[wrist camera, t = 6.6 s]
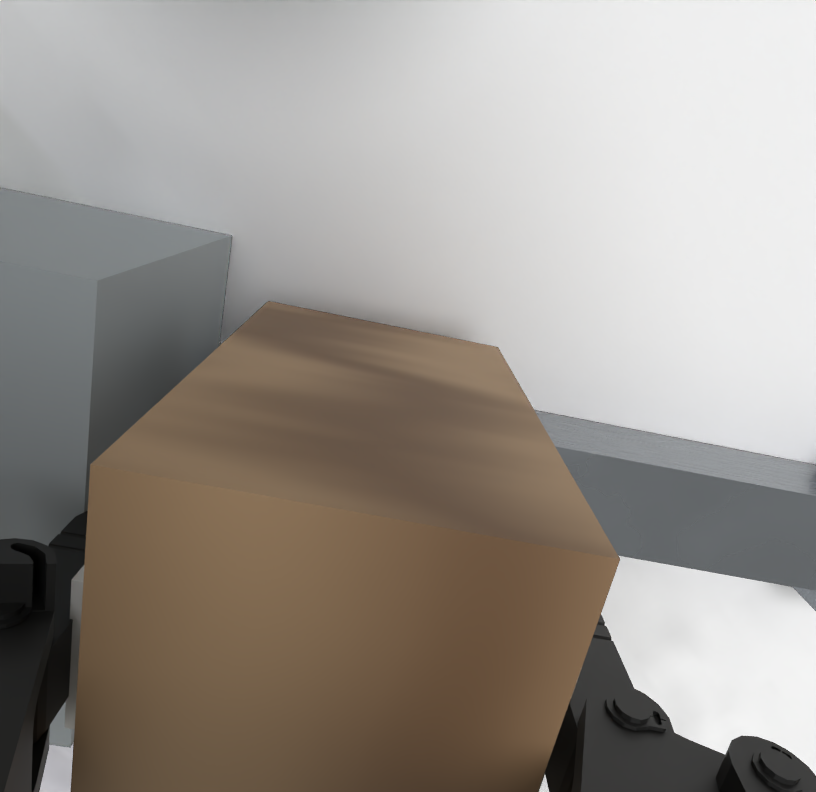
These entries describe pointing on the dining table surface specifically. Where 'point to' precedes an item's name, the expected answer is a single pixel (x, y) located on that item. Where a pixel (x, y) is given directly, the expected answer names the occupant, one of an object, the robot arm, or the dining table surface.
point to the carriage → (334, 573)
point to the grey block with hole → (90, 346)
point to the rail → (695, 502)
